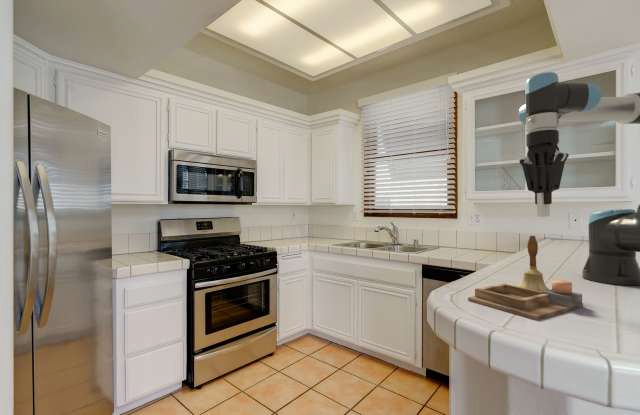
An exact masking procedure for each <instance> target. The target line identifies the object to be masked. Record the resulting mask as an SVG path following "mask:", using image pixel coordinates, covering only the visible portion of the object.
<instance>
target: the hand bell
mask: <svg viewBox="0 0 640 415" xmlns="http://www.w3.org/2000/svg"><path fill="white" fill-rule="evenodd" d="M526 245H527V251H528V252H527V253H528V255H529V269H527V270H525V271H524V273H523V279H522V281H521V282H520V284H518V285H517V287H522V288H527V289H531V290H536V291H541V292H542V291H546V290H550V288H549V287H547V285H546V283H545V281H544V276H543V275H544V274H543V272H542V271H540V270H538V268H537V254H538V252H539V251H538V250H539V246H538V241H537V239H536V236H535V235H530V236H529V238H528V241H527V244H526Z"/></svg>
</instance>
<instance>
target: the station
mask: <svg viewBox="0 0 640 415" xmlns="http://www.w3.org/2000/svg"><path fill="white" fill-rule="evenodd" d="M467 301H469V302H473V303H476V304H480V305H483V306H485V307H486V306H487V307H490V308H493V309H496V310H500V311H503V312H507V313H510V314H514V315H518V316H522V317H524V318H527V319H528V318H529V319H532V320H536V321H538V320H542V319H545V318H549V317H552V316H555V315H556V316H557V315H559V314H563V313H566V312H570V311H573V310H576V309H580V308H581V309H582V308H583V307H584V303H583V293H580V292H579V293H578V292H576V291H575V292H574V291H572V294H562V293H556V292H553V291H552V288H551V289H549V290H546V291H542V292H541V291H536V290H531V289H527V288H522V287H518V285H512V284H508V283H500V284H495V285H494V284H493V285H488V286H483V287H478V288H474V295H473V296H472V295H471V296H469V297H467Z"/></svg>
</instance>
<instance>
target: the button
mask: <svg viewBox="0 0 640 415" xmlns="http://www.w3.org/2000/svg"><path fill="white" fill-rule="evenodd" d="M551 289H552V291H553V292H556V293H562V294H572V292H573V283H572V282H571V281H567V280H560V279H558V280H557V279H554V280H552V281H551Z"/></svg>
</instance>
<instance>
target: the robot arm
mask: <svg viewBox="0 0 640 415" xmlns="http://www.w3.org/2000/svg"><path fill="white" fill-rule="evenodd" d="M559 81H560V80H559V76H558V73H555V71H553V72H552V71H549V72H548V71H547V72H542V73H537V74H534V75H532V76H530V77H529V78H528V79H527V80H526V82H525V90H524V91H525V93H524V96H525V97H524V98H525V104H523V105H521V107H519V110H518V118H519V122H521V123H522V124H523V125H525V129H526V135H525V138H526V139H525V142H526V145H525V146H526V147H527V148H528V149H527V153H526V156H525V157H524V158H522V159H519V164H520V166H521V167H522V170H523V174H524V179H525V183H526V188H527V190H528V192H532V193H534V203H535V205H536V210H537V212H536V214H537V215H536V216H537V217H551V216H550V213H551V212H550V210H551V208H550V207H551V206H550V205H552V203H553V201H552V198H553V197H552V194H553V192H554V191H557V190H560V186H561V182H562V177H563V173H564V169H565V168H564V167H565V164H566V162H567V159H568V158H569V156H570V155H569V153H567V152H562V151H561V150H560V148H559V146H558V144H559V143H560V135H559V134H560V131H559V130H558V129H559V127H560V125H559V124H560V123H564V122H567V123H568V122H575V123H576V122H616V123H618V124H621V125H622V124H623V125H626V124H627V125H628V124H633V125H637V124H638V125H640V92H635V93H631V92H630V93H625V94H622V95H621V96H602V90H601V88H600V86H598V85H597V84H595V83H588V82H559ZM588 219H589V220H588V257H587V260H586V261H585V264H584V267H583V268H582V272H581V273H582V278H583V279H585V280H589V281H591V282H592V281H593V282H598V283H603V284H610V285H622V286H623V285H624V286H640V266H639V263H638V260H637V259H636V257H637V253H640V204H638V206H637V209H636V210H635V209H632V208H631V209H629V208H627V209H621V208H619V209H608V210H599V211H594V212H592V213H590V215H589V218H588Z"/></svg>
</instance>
